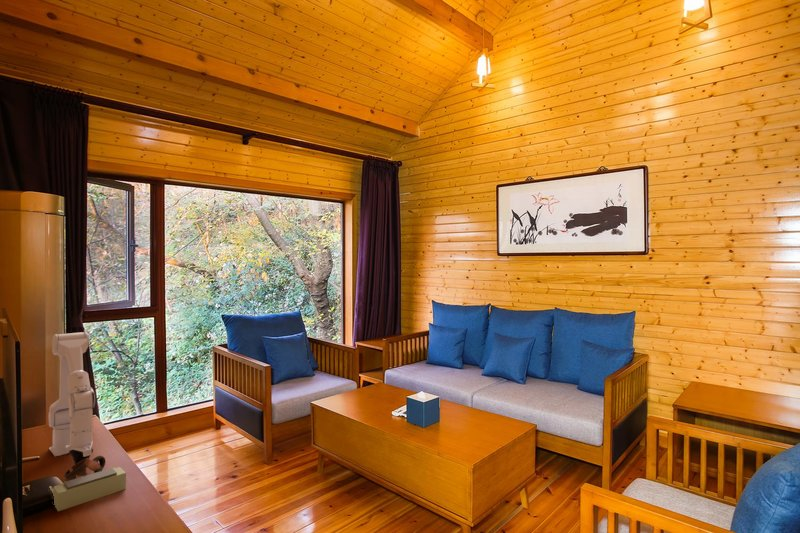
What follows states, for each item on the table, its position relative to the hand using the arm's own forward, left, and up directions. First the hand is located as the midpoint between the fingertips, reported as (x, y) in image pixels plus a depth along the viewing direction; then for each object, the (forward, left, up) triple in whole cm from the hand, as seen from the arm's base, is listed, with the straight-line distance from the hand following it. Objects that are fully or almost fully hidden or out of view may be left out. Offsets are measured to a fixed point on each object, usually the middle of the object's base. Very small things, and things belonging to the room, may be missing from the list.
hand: (80, 471), depth 142 cm
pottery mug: (+6, +1, -2) cm, 6 cm away
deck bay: (+13, -1, -1) cm, 14 cm away
